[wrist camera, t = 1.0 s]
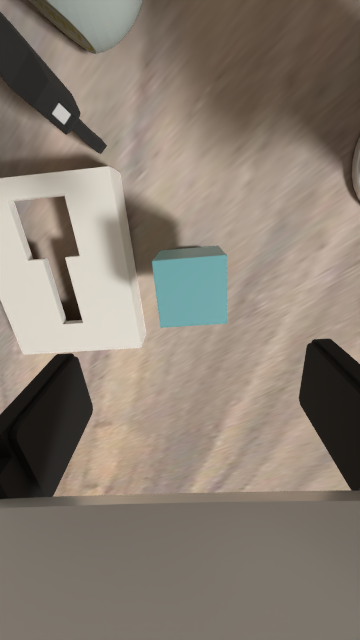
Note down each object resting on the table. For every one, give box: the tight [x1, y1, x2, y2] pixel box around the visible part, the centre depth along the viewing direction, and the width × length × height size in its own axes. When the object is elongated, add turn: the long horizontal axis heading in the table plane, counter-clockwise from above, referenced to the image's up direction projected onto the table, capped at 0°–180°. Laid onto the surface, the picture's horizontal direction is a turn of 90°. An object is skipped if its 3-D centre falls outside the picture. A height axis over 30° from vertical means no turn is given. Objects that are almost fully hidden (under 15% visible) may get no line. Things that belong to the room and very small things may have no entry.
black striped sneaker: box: [0, 12, 107, 154], centre depth 21 cm, size 3×16×10 cm, turn 44°
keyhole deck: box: [0, 166, 146, 355], centre depth 29 cm, size 16×20×4 cm
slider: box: [152, 246, 227, 328], centre depth 25 cm, size 6×6×11 cm
